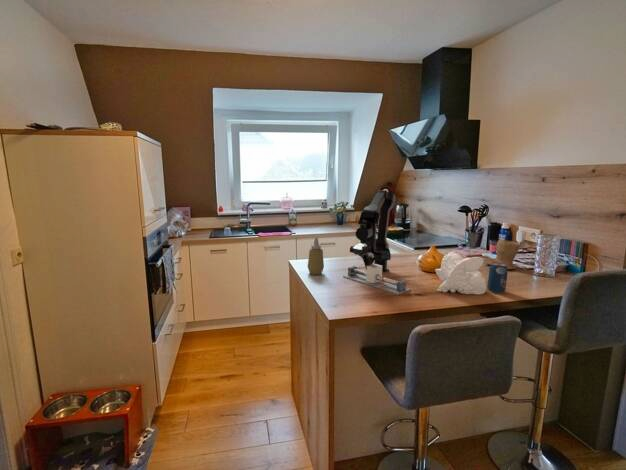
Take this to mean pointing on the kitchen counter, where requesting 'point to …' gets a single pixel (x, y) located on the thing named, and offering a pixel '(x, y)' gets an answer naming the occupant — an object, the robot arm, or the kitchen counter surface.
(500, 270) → the soda can
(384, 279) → the rail
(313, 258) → the squeeze bottle
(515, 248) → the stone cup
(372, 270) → the collar
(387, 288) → the base board
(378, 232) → the robot arm
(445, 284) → the white sculpture
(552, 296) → the kitchen counter surface
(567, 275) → the kitchen counter surface
